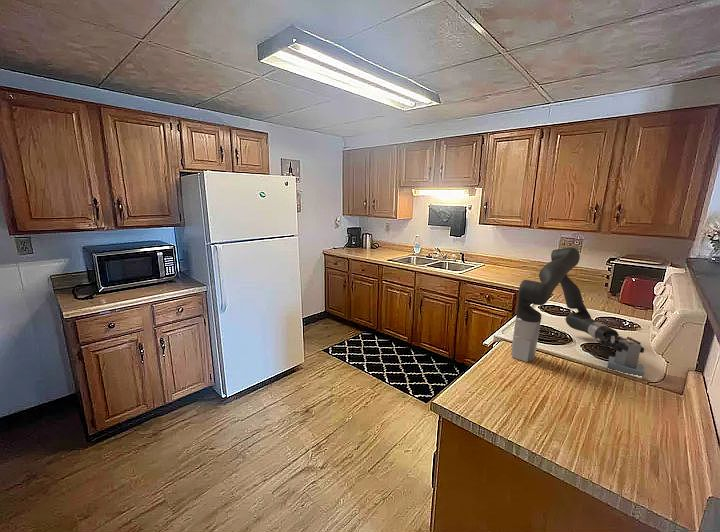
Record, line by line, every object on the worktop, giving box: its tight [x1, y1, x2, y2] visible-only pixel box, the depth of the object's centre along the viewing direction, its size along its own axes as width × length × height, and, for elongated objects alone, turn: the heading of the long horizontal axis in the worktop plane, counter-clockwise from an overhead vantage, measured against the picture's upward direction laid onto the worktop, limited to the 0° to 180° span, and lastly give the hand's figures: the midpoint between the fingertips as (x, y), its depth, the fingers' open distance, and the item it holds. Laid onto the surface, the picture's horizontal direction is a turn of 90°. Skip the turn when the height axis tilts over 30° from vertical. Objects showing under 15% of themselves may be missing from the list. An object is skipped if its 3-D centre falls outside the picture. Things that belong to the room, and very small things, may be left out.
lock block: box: [614, 340, 642, 369], centre depth 130 cm, size 5×5×11 cm
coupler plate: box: [606, 355, 645, 378], centre depth 131 cm, size 12×11×3 cm
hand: (632, 350), depth 128 cm, fingers open, 8 cm apart
